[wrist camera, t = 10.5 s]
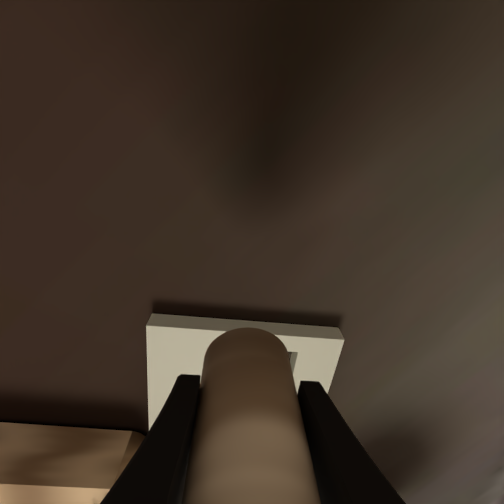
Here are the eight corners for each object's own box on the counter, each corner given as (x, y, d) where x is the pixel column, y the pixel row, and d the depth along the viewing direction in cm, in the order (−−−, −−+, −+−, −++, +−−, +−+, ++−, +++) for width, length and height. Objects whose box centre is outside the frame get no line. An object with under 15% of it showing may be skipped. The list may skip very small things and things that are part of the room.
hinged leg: (149, 429, 22) (128, 501, 18) (149, 450, 23) (128, 523, 19) (-9, 418, 21) (-72, 492, 17) (-3, 441, 22) (-61, 516, 18)
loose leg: (204, 325, 10) (141, 666, 4) (293, 328, 10) (383, 655, 4) (203, 392, 11) (157, 736, 5) (284, 393, 12) (340, 725, 5)
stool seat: (151, 313, 18) (146, 325, 17) (338, 327, 19) (344, 339, 18) (154, 448, 23) (149, 464, 22) (300, 453, 24) (303, 469, 23)
